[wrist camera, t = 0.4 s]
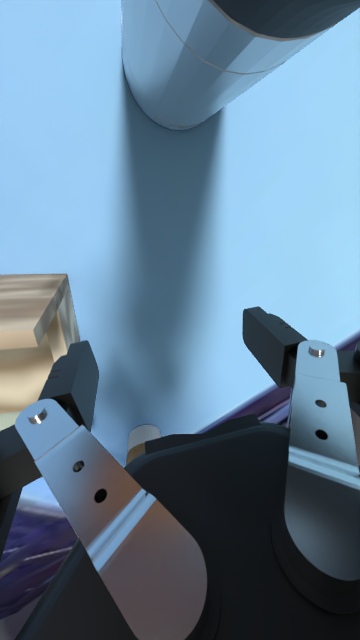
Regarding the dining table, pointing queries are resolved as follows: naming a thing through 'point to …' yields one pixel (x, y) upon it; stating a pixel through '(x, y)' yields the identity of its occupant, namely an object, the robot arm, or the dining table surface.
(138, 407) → the dining table surface
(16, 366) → the tray
